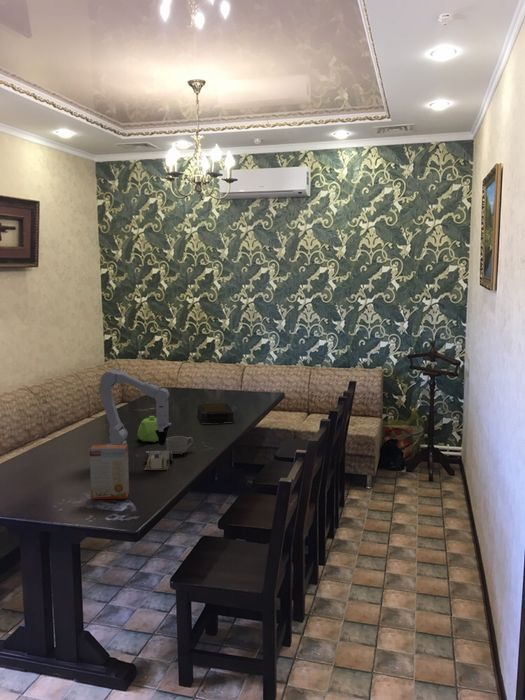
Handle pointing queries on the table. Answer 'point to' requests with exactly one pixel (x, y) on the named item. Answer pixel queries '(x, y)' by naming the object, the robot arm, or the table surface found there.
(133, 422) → the table surface
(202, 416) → the cash box
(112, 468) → the cracker box
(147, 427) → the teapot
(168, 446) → the teacup
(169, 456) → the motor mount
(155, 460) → the light grey block
